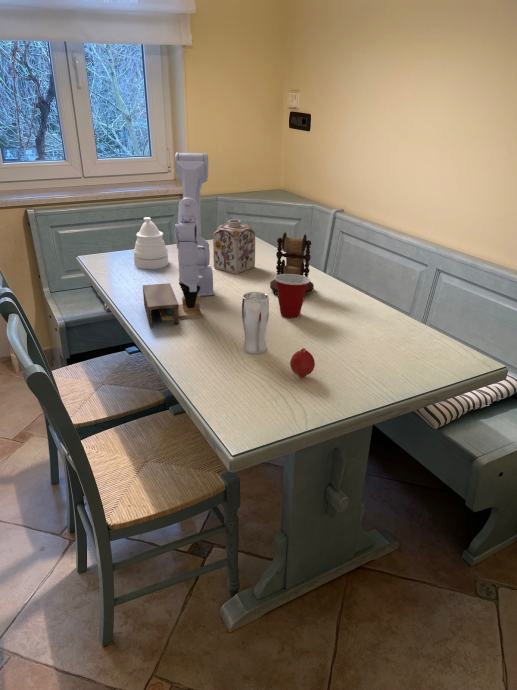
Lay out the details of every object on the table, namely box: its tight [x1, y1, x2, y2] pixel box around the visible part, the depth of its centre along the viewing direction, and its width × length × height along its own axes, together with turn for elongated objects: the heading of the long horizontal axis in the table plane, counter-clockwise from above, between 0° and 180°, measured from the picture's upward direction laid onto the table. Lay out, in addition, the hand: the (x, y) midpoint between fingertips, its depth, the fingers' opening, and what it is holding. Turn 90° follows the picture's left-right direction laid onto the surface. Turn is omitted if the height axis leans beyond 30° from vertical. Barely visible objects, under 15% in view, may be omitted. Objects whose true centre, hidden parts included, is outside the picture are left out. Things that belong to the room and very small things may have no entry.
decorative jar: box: [212, 219, 256, 275], centre depth 197 cm, size 12×12×18 cm
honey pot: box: [133, 216, 169, 270], centre depth 199 cm, size 13×13×18 cm
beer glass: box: [241, 291, 270, 355], centre depth 136 cm, size 7×7×15 cm
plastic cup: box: [273, 274, 311, 319], centre depth 158 cm, size 11×11×12 cm
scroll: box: [269, 231, 315, 296], centre depth 175 cm, size 15×15×20 cm
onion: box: [289, 347, 316, 379], centre depth 125 cm, size 6×6×8 cm
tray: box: [158, 295, 203, 322], centre depth 159 cm, size 12×9×5 cm
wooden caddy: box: [142, 282, 180, 329], centre depth 157 cm, size 8×18×6 cm, turn 16°
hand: (190, 306), depth 160 cm, fingers closed
